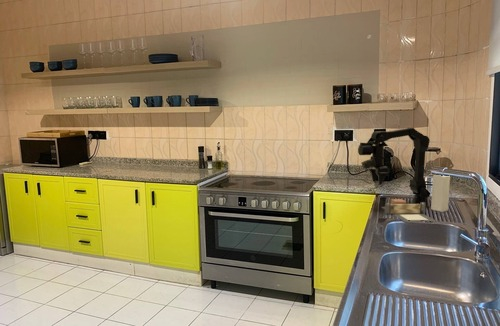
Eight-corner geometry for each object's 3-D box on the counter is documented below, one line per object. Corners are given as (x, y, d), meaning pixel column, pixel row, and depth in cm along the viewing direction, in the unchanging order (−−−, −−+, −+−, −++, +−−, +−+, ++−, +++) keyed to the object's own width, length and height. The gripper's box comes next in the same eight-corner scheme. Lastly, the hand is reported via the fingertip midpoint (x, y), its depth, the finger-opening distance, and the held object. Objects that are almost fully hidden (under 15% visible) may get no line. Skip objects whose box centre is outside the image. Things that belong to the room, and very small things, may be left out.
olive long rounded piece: (423, 213, 207) (424, 202, 206) (425, 214, 205) (426, 203, 204) (384, 214, 206) (385, 202, 205) (386, 215, 203) (386, 203, 203)
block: (401, 207, 219) (401, 199, 219) (406, 209, 213) (406, 201, 213) (390, 207, 219) (390, 199, 218) (395, 209, 213) (395, 201, 212)
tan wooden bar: (418, 212, 207) (418, 203, 206) (420, 213, 205) (420, 204, 204) (389, 212, 206) (389, 204, 205) (391, 213, 204) (391, 205, 203)
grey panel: (409, 207, 221) (409, 206, 221) (437, 221, 191) (437, 221, 191) (380, 207, 220) (380, 206, 220) (405, 222, 190) (405, 221, 190)
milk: (448, 210, 212) (451, 170, 209) (440, 212, 209) (443, 170, 206) (437, 208, 218) (440, 168, 215) (430, 209, 215) (433, 169, 212)
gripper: (357, 153, 223) (357, 180, 225) (368, 157, 204) (368, 186, 207) (377, 152, 223) (376, 180, 225) (390, 156, 205) (389, 186, 207)
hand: (377, 183), depth 216 cm, fingers open, 9 cm apart
